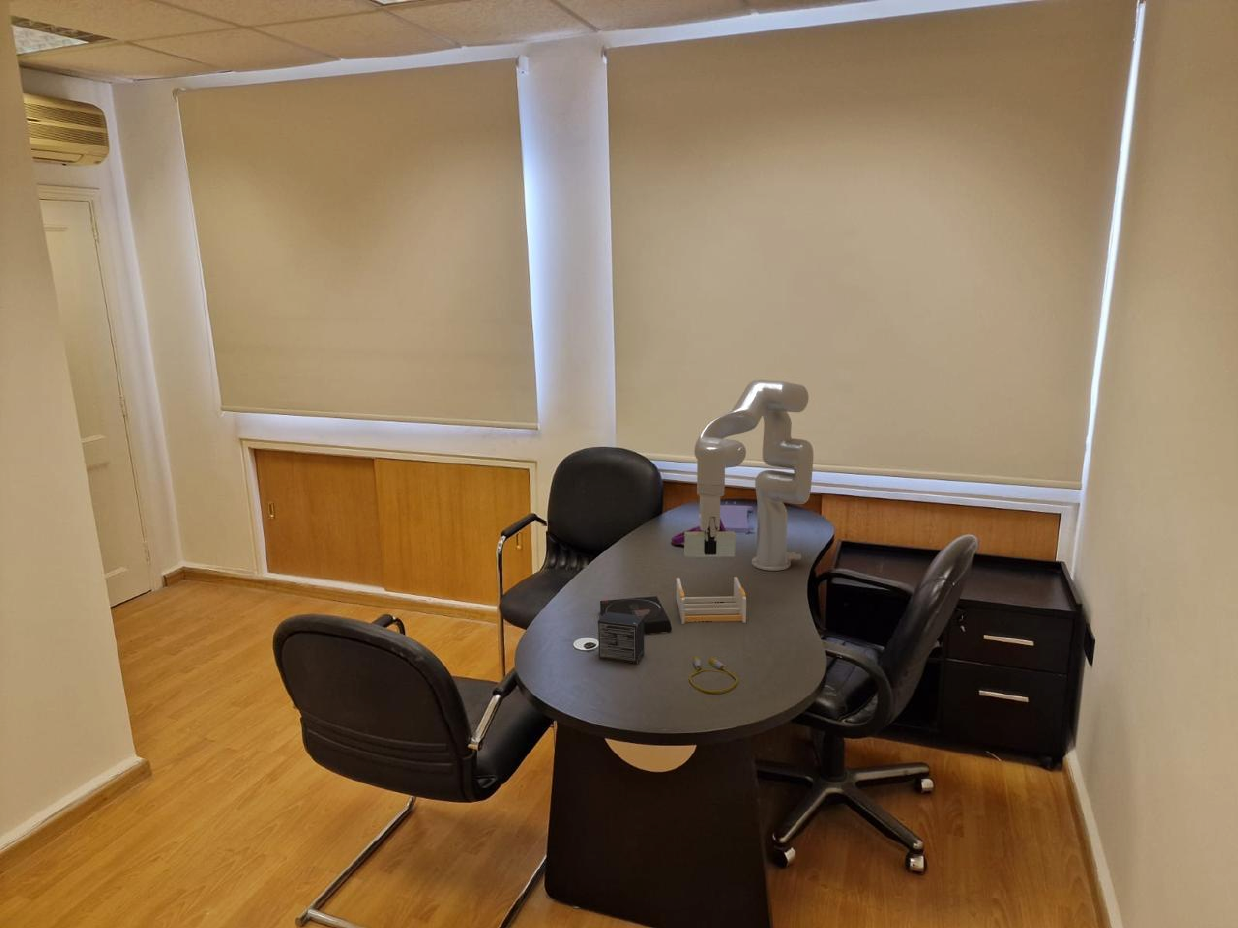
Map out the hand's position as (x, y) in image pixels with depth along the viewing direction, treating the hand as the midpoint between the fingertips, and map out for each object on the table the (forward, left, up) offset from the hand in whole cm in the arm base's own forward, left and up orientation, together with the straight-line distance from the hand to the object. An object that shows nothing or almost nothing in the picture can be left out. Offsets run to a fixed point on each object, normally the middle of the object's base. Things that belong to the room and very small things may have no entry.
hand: (709, 551), depth 225 cm
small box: (+25, +27, -18) cm, 41 cm away
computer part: (-20, -83, -18) cm, 87 cm away
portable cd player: (+21, +7, -18) cm, 29 cm away
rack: (0, +1, -18) cm, 18 cm away
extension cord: (+4, +38, -18) cm, 43 cm away
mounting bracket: (-3, -56, -18) cm, 59 cm away
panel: (0, 0, -1) cm, 1 cm away
